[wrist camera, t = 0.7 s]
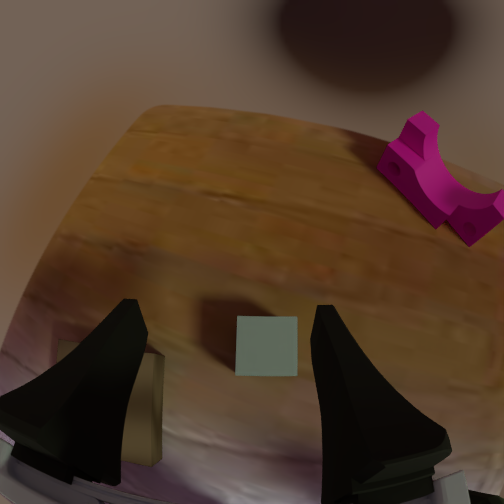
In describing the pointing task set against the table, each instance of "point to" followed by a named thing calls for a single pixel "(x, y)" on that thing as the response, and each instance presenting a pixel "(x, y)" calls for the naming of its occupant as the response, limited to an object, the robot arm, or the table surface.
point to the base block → (139, 409)
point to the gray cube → (266, 346)
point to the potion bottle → (484, 498)
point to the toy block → (437, 183)
